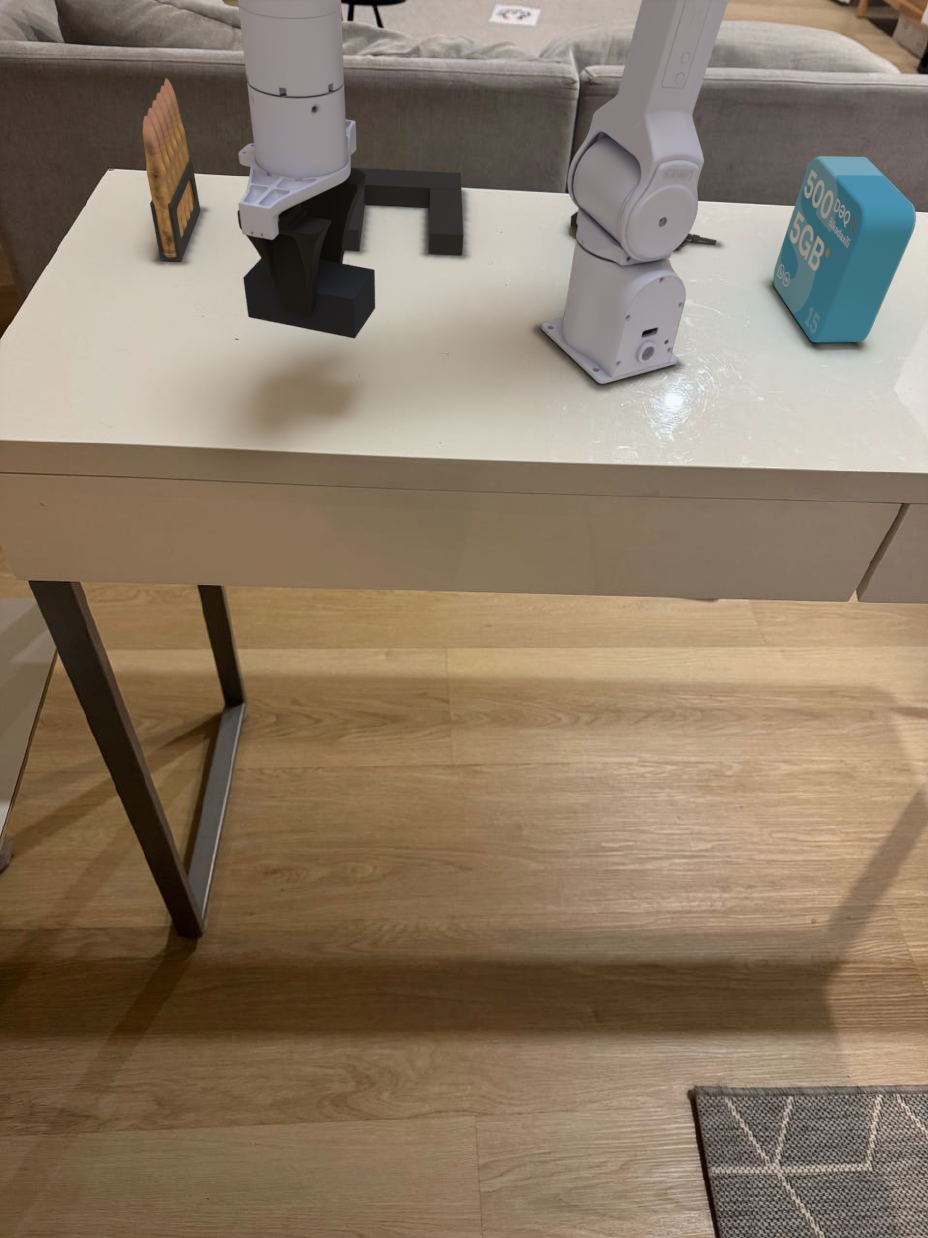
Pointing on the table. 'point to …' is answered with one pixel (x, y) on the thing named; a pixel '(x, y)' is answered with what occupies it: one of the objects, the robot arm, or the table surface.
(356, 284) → the black rectangular block
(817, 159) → the data package
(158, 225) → the ammunition clip
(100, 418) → the table surface
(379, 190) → the black flat u-shaped piece
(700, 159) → the robot arm
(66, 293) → the table surface
